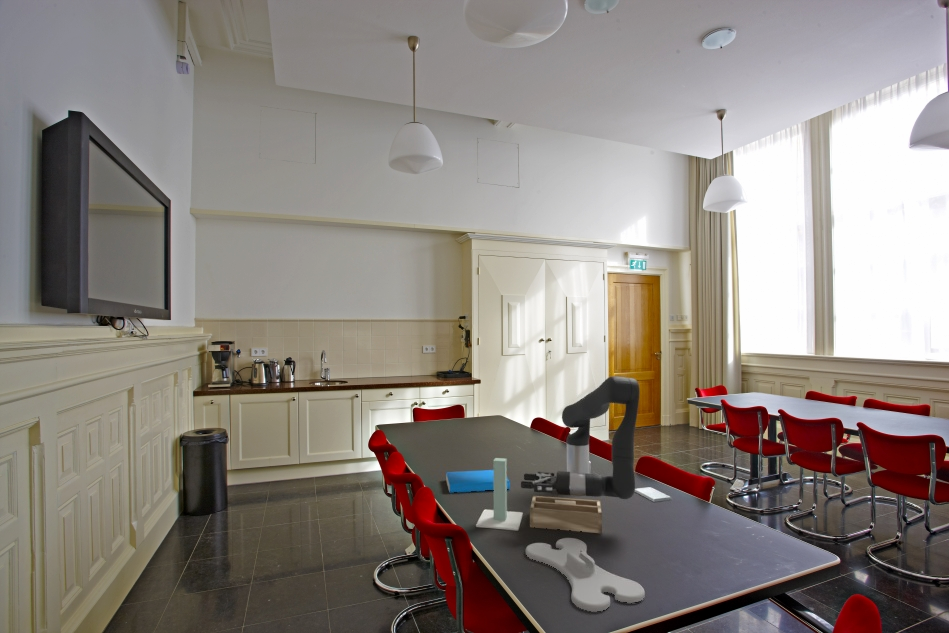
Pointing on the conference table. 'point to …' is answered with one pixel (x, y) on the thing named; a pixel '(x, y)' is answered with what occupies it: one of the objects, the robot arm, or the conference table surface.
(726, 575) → the conference table surface
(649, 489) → the hard drive
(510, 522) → the mat
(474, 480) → the book
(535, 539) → the conference table surface
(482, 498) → the conference table surface
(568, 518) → the box
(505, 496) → the pale green bar
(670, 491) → the conference table surface
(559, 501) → the upper offcut
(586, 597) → the holder
